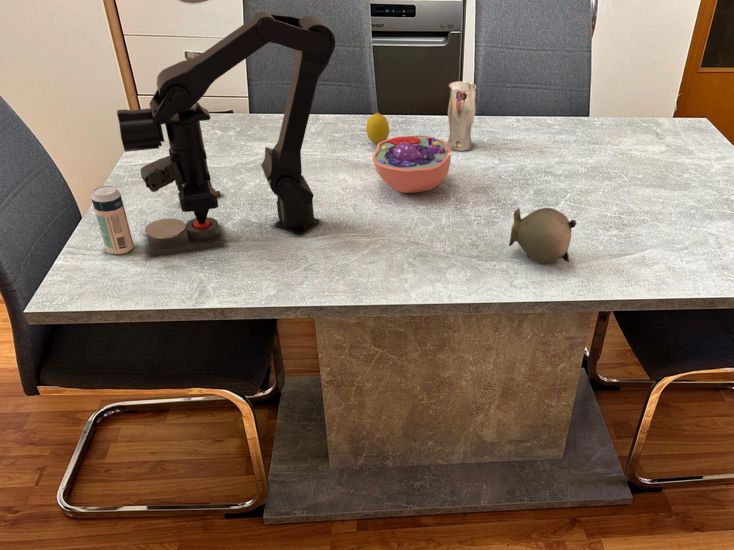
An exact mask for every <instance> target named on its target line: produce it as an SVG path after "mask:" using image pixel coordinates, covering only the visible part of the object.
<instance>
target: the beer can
mask: <svg viewBox="0 0 734 550" xmlns="http://www.w3.org/2000/svg"><path fill="white" fill-rule="evenodd" d="M90 199H91V201H92V206H93V209H94V213H95V217H96V220H97V224H98V227H99V230H100V233H101V237H102V241H103V243H104V247H105V250H106V252H107V253H109V254H112V255H123V254H127V253H129V252H131V251H132V250H133V249H134V247H135V245H134V244H135V243H134V240H133V237H132V233H131V228H130V226H129V225H130V224H129V221H128V217H127V213H126V210H125V206H124V202H123V197H122V195H121V192H120V191H119V190H118V189H117V188H116V187H115V186H113V185H102V186H101V185H100V186H98V187H96V188H94V189H92V193H91V197H90Z"/></svg>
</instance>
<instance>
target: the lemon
mask: <svg viewBox="0 0 734 550" xmlns="http://www.w3.org/2000/svg"><path fill="white" fill-rule="evenodd" d="M365 131H366V135H367V137H368V139H369V140H370V141H371V142H372V143H374V144H375V145H377V144H378V143H379V142H381V141H384V140H387V139H389V138H388V137H389V135H390V125H389V122H388V119H387V118H386V116H384V115H383V114H381V113H379V112H375V113H374V114H372V115H370V117H368V120H367V122H366V128H365Z"/></svg>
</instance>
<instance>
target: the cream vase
mask: <svg viewBox="0 0 734 550" xmlns="http://www.w3.org/2000/svg"><path fill="white" fill-rule="evenodd" d="M446 107H447V119H448V126H449V127H448V128H449V135H448V140H447V144H448V146H449V148H450V149H451V151H457V152H464V151H469V150H470V149H472V148H473V143H472V128H473V124H474V120H475V116H476V110H477V85H476V84H475V83H474V82H469V81H465V80H464V81H462V80H461V81H452V82H450V83H449V84H448V92H447V103H446Z"/></svg>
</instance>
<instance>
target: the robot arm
mask: <svg viewBox="0 0 734 550" xmlns="http://www.w3.org/2000/svg"><path fill="white" fill-rule="evenodd" d="M270 43H271V44H276V45H280V46H283V47H286V48H290V49H292V50H293V63H294V64H293V65H294V69H293V73H292V78H291V81H290V86H289V92H288V95H287V99H286V105H285V109H284V113H283V118H282V122H281V127H280V131H279V136H278V140H277V142H276V144H275V145H274V146H273V148H270V147H268V146H266V147H265V148H264V158H263V161H262V163H261V164H260V167H261V168H262V172H263V173H264V177H265V179H266V181H267V183H268V186H269V187H270V190H271V191H272V193H273V194H274V195H276V197H277V198H276V199H277V201H276V208H277V218H278V221H277V222H275V223H274V226H275V228H277V229H282V230H284V231H287V232H290V233H294V234H296V235H303V234H305V232H307V231H309V230H310V229H312V228H313V227H314V226H316V225H318V224H319V223H320V219H319V218H316V217H315V214H314V201H313V199H314V196H315V195H314V193H313V191H312V189H311V187H310V186H309V184H308V182H307V180H306V179H305V177H304V175H302V172H303V170H302V168H303V167H302V153H301V152H302V148H303V143H304V140H305V136H306V135H305V134H306V131H307V128H308V127H307V126H308V122H309V120H310V119H309V118H310V115H311V110H312V106H313V102H314V98H315V93H316V89H317V86H318V85H317V84H318V81H319V79H320V76H321V75H322V74H323V72H324V70H325V69H326V68H327V67H328V65H329V63H330V61H331V58H332V56H333V53H334V51H335V48H336V38H335V35H334V33H333V32H332V30H331V29H330V28H329V27H328V26H327V25H326V24H325V22H323V20H321V19H320V18H319V17H318V16H314V15H306V16H303V17H301V18H300V17H297V16H292V15H285V14H275V13H270V12H267V11H259V12H256V13H255V14H254V15H252V18H250V19H249V20H248V21H246V22H245V23H243V24H242V25H241V26H239V27H238V28H236V29H235V30H234V31H232V32H230V33H229V34H228V35H226V36H225V37H224V38H222V39H220V40H219V41H218V42H217V43H215V44H213V45H212V46H210V47H209V48H208V49H206V50H205V51H203V52H202V53H200V54H199V55H198V56H195V57H193V58H190V59H186V60H182V61H179V62H177V63H175V64H173V65H171V66H168V67H166V68H164V69H162V70H161V71H160V72H159V73H158V75H157V77H156V90H155V92H154V94H153V96H152V97H151V100H150V102H149V108H141V109H138V108H137V109H118V110H116V116H117V119H118V125H119V133H120V138H121V144H122V147H123V151H124V153H127V152H128V153H129V152H136V151H139V152H140V151H147V150H157V149H160V147H162V145H163V144H162V143H165V142H166V141H165V137H164V132H163V127H162V125H164V126H165V130H166V134H167V135H166V136H167V140H168V146H169V148H168V153H169V155H167V156H165V157H161V158H159V159H156V160H154V161H152V162H149V163H148V164H146V165H143V166H142V167H141V168H140V177H141V179H142V180H143V182H144V183H145V186H146V188H147V189H149V190H150V192H151V193H156V192H158V191H160V189H162V188H164V187H167V186H168V185H169V184H170V185H171V184H172V183H174V182H175V186H176V188H177V191H178V193H177V195H178V199H179V203H180V204H179V205H180V208H181V212H184V213H190V212H193V214H194V216H195V218H197V221H198V223H199V224H204V223H205V221H206V218H207V217H208V215H209V211H210V210H214V209H217V208H219V201H218V196H216V192H215V191H216V189H215V188H214V187H213V185H212V182H211V174H210V171H209V166H208V162H207V159H208V156H207V152H206V149H205V143H204V138H203V133H202V132H203V131H202V127H201V122H202V121H210V120H211V117H212V116H211V115H210V112H209V110H208V109H207V108H205V107H203V106H202V105H201V104H200V102H199V101H200V100H201V99H202V98H203V97H204V96H205V95H206V93H207V92H208V90H209V88H210V87H211V86H212V84H213V83H214V82H215V81H216V80H217V79H219V78H221V77H222V76H223V75H225V73H227V72H229V71H230V70H232V69H233V68H235V67H236V66H237V65H239V64H240V63H242V62H243V61H244V60H246V59H247V58H249V57H250V56H251V55H253V54H254V53H256V52H257V51H259V50H260V49H262V48H263V47H264V46H266V45H267V44H270Z"/></svg>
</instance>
